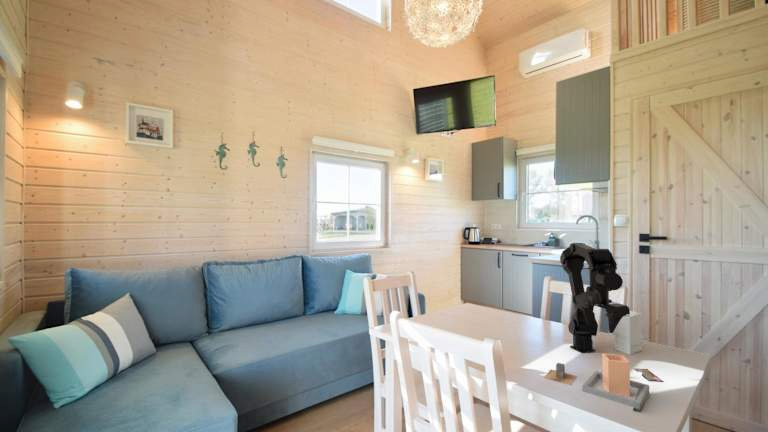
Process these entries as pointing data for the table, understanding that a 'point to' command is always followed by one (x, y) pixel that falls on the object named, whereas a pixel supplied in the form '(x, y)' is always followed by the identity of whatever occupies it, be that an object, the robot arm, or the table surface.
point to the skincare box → (629, 333)
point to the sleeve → (616, 374)
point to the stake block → (560, 375)
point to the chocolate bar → (648, 375)
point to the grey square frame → (637, 404)
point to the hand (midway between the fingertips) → (599, 328)
